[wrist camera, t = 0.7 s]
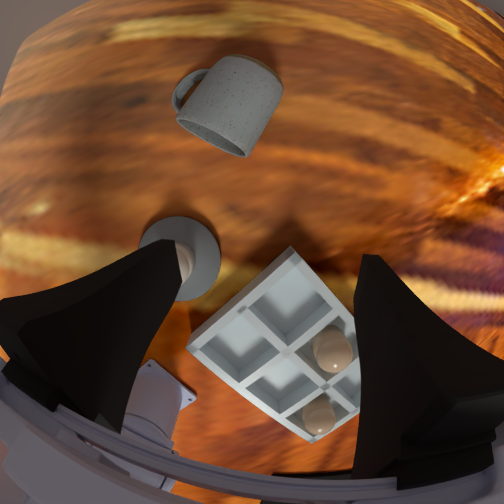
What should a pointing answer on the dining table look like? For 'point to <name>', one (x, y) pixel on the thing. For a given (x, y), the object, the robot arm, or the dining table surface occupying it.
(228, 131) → the ceramic mug
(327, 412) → the brown egg
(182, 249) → the cream egg
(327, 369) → the brown egg
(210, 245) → the grey round disc
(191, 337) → the egg carton
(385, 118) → the dining table surface
